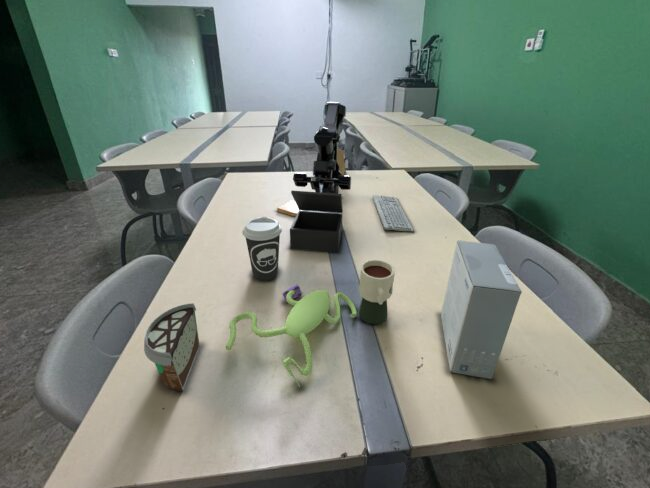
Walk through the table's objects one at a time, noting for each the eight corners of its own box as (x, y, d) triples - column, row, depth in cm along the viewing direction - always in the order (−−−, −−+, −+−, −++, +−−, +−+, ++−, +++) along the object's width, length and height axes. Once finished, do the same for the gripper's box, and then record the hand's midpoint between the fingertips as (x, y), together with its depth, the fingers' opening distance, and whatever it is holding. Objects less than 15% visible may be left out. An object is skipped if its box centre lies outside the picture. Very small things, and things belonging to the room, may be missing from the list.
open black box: (338, 252, 95) (338, 232, 92) (290, 248, 96) (289, 229, 93) (341, 231, 107) (342, 213, 105) (299, 228, 108) (299, 210, 106)
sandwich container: (346, 170, 169) (347, 143, 163) (342, 180, 155) (344, 150, 149) (330, 169, 170) (331, 141, 164) (325, 178, 156) (326, 148, 150)
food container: (170, 341, 63) (160, 302, 59) (202, 340, 64) (194, 301, 59) (140, 401, 52) (126, 358, 48) (179, 399, 52) (168, 356, 48)
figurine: (215, 353, 61) (211, 331, 59) (300, 281, 82) (300, 263, 79) (289, 404, 52) (288, 381, 50) (364, 310, 73) (365, 290, 71)
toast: (291, 203, 127) (291, 200, 127) (310, 208, 123) (310, 205, 123) (277, 211, 120) (277, 207, 120) (296, 217, 116) (296, 213, 116)
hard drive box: (493, 381, 57) (523, 293, 49) (449, 373, 58) (471, 286, 50) (474, 319, 71) (495, 243, 63) (439, 314, 72) (455, 238, 64)
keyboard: (413, 232, 109) (414, 226, 108) (384, 231, 108) (384, 226, 107) (396, 199, 135) (396, 194, 134) (372, 198, 135) (372, 194, 134)
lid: (341, 196, 91) (341, 193, 91) (291, 192, 92) (291, 190, 92) (342, 213, 104) (342, 210, 105) (298, 210, 105) (299, 207, 106)
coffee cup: (289, 267, 87) (288, 219, 81) (272, 288, 79) (269, 236, 73) (259, 260, 90) (255, 212, 84) (239, 279, 82) (233, 228, 75)
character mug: (394, 334, 66) (401, 284, 61) (360, 336, 66) (365, 285, 61) (383, 299, 76) (388, 254, 71) (354, 300, 76) (357, 254, 70)
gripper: (293, 147, 100) (286, 192, 94) (352, 151, 99) (348, 197, 93) (299, 165, 110) (292, 206, 105) (352, 168, 109) (348, 210, 103)
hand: (319, 204), depth 101 cm, fingers closed, pressing on lid
